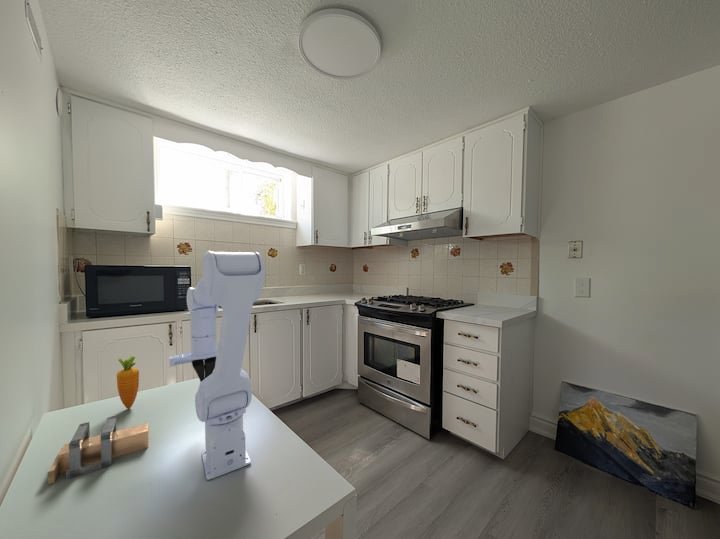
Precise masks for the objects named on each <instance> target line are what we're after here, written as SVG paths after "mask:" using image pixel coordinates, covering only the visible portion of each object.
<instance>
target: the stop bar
mask: <svg viewBox="0 0 720 539" xmlns="http://www.w3.org/2000/svg"><path fill="white" fill-rule="evenodd" d="M62 449H63V447H61V448H60V450H59V452H58V453H57V455H56V457H55V459H54V460H53V462H52V464H51V465H50V468H49V469H48V470H47V485H49V486H50V485H51V484H55V482H56V480H57V479H58V476H59V475H60V474H59V454H60V452H61V450H62Z"/></svg>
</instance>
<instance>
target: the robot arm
mask: <svg viewBox="0 0 720 539" xmlns="http://www.w3.org/2000/svg"><path fill="white" fill-rule="evenodd" d="M201 260H202V261H201V275H202V276H201V278H200V279H199V280H198V282H197V284H196V285H195V287H193V286H192V287H191V286H190V287H188V289H187V291H186V292H187V293H186V305H187V309H188V311H189V315H190V316H189V317H190V318H189V319H190V321H189V322H190V323H189V324H190V325H189V326H190V352H185V353H181V354H178V355H172V356H169V368H172V367H175V366H177V365H183V364H190V363H191V365H192V368H193V369H194V371H195V373H196V374H197V378H198V379H199V381H200V382H199V385H198V388H197V392H196V393H195V396H194V398H195V399H194V402H195V403H194V404H195V405H194V406H195V414H196V416H197V417H196V418H197V420H199V422H202V423H204V431H205V432H204V434H205V435H204V439H205V440H204V442H205V443H204V444H205V446H204V447H205V450H202V451H201V456H202V461H203V462H202V463H203V468H204V472H205V477H206V478H205V479H206V480H207V481H209V480H213V479H215V478H218V477H220V476H223V475H225V474H228V473H230V472H233V471H235V470H239V469H240V468H241V469H242V468H243V467H245V466H248V465H250V464H251V462H252V461H251V458H250V456H249V454H248V451H247V448H246V434H245V431H244V414H246V413H247V409H246V408H249V406H250V404H251V403H252V399H253V398H252V396H253V394H252V385H253V384H252V380H251V378H250V376H249V374H248V373H247V371H245V370H243V369H242V366H243V365H242V364H243V360H244V354H245V349H246V343H247V338H248V333H249V327H250V323H251V318H252V317H251V316H252V311H253V306H254V303H255V302H257V301H258V300H259V299H260V298H261V297H262V292H263V288H264V282H265V277H266V266H265V261H264V258H263V257H262V255H261V254H260V253H259V252H258V251H253V252H239V251H238V252H234V251H233V252H232V251H231V252H230V251H228V252H227V251H212V250H207V251H206V252H205V254H204V255H203V256H202V259H201ZM219 307H221V310H222V312H221V313H222V314H221V322H220V327H219V335H218V343H217V316H219Z"/></svg>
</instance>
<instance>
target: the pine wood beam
mask: <svg viewBox="0 0 720 539" xmlns="http://www.w3.org/2000/svg"><path fill="white" fill-rule="evenodd" d="M69 444H70V442H69V443H65V444H64V445H63V447H62V448H63V449H62V450H61V449H60V450H61V452H60V454H59V475H60V474H64V473H66V472H67V470H68V469H70V462H69ZM149 445H150V422H147V423H143V424H139V425H134V426H130V427H126V428H124V429H119V430H118V429H117V431H115V432H113V433H112V459H113V458H116V457H120V456H121V457H122V456H123V455H127V454H131V453H134V452H137V451H140V450H143V449H144V450H145V449H147V448H149ZM97 460H101V434H100V435H95V436H92V437H91V436H90V438H87V439H84V440H83V441H82V465H84V464H87V463H91V462H94V461H97Z"/></svg>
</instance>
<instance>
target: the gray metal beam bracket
mask: <svg viewBox="0 0 720 539" xmlns="http://www.w3.org/2000/svg"><path fill="white" fill-rule="evenodd" d="M117 426H118V425H117V415H114V416H109V417H107V419H106V421H105V424H104V426H103V429H102V432H101V434H100V435H101V460H97V461H94V462H91V463H87V464H84V465H82V441H83V440H84V439H87V438H91V432H90V431H91V430H90V429H91V428H90V421H88V422H83V423H80V424H79V425H78V427H77V429H76V431H75V432H74V435H73V436H72V438H71V440H70V442H69V443H70V444H69V462H70V469H68V470H67V472H65V476H66V477H65V480H69V479H72V478H76V477H78V476H81V475H84V474H87V473H91V472H94V471H97V470H100V469H104V468H107V467H110V466H112V464H113V458H112V433H113V432H115V431H118V427H117Z"/></svg>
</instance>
